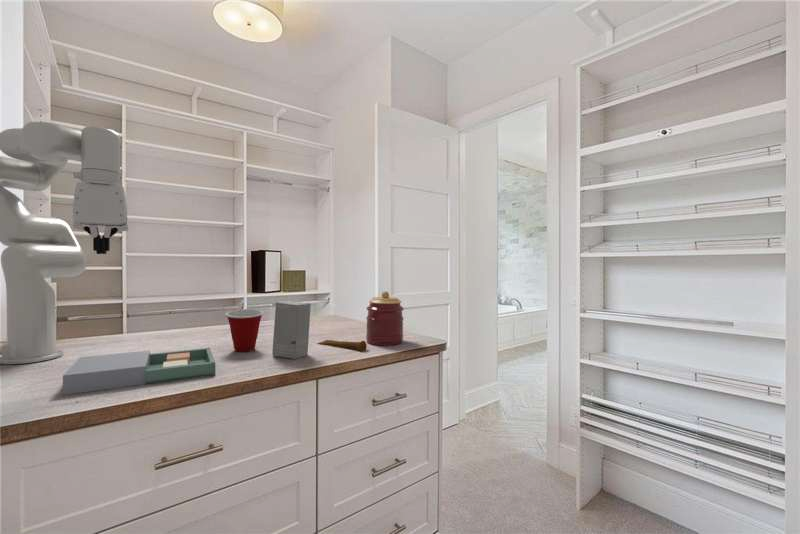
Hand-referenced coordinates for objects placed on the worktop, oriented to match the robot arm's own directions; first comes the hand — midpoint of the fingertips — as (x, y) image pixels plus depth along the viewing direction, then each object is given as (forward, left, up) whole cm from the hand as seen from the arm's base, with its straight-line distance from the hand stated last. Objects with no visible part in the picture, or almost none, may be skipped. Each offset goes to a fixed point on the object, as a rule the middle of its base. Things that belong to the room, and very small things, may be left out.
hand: (101, 253), depth 92 cm
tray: (+17, -9, -29) cm, 35 cm away
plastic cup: (+34, +5, -29) cm, 45 cm away
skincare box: (+45, -8, -29) cm, 54 cm away
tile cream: (+16, -14, -26) cm, 33 cm away
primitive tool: (+62, -4, -30) cm, 69 cm away
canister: (+78, -5, -29) cm, 83 cm away
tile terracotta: (+16, -6, -26) cm, 31 cm away
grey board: (+3, -9, -29) cm, 31 cm away
